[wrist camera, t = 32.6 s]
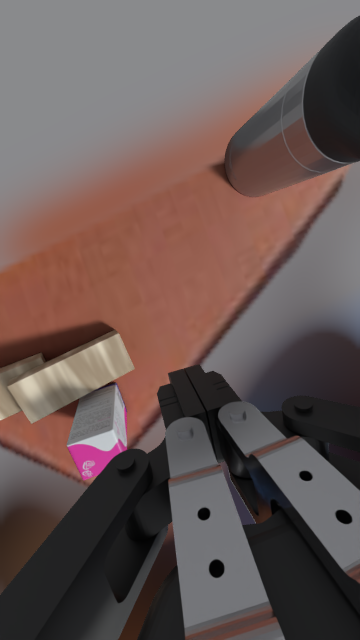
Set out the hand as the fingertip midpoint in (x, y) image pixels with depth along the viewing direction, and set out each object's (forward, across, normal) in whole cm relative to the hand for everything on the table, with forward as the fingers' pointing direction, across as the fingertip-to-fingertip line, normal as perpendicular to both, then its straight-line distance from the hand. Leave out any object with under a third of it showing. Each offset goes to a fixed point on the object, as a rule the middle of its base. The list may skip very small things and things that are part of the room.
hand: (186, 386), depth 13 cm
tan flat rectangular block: (+28, +4, +8) cm, 29 cm away
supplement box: (+29, +10, +16) cm, 35 cm away
